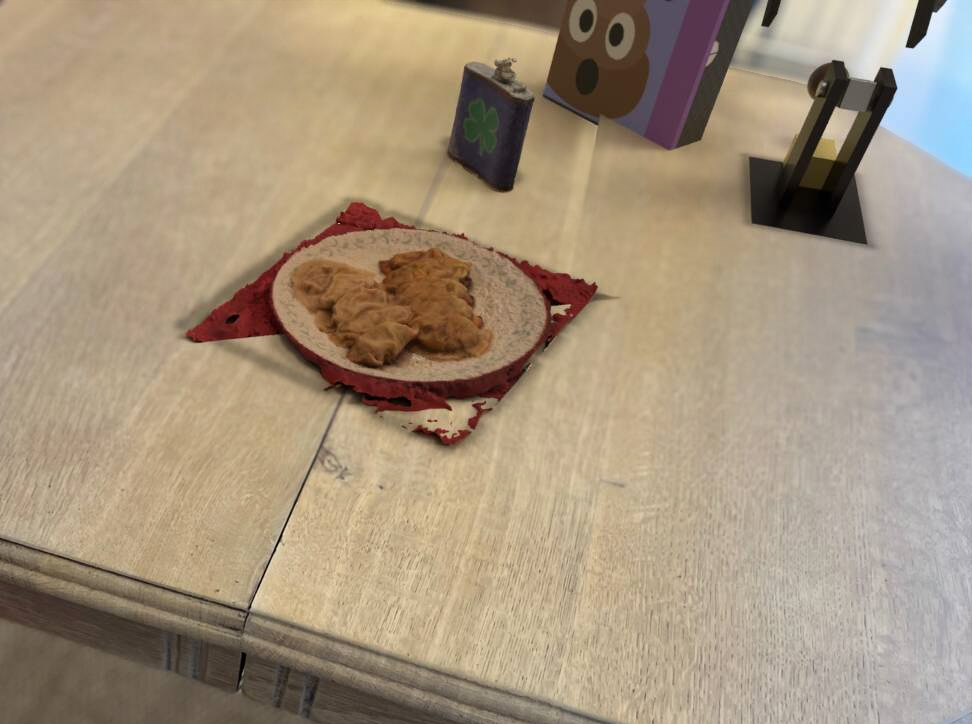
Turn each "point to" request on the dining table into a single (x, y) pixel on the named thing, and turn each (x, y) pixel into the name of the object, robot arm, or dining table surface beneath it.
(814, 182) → the butter
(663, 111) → the cereal box
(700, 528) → the dining table surface
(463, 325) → the plate with food
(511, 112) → the flask
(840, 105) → the slicer arm
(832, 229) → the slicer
